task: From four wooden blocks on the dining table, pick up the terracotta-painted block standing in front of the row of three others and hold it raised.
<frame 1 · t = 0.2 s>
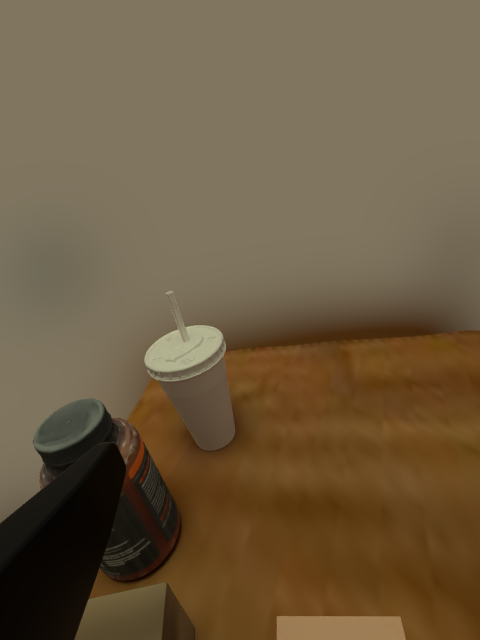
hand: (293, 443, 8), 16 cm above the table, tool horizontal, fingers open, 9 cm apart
smoothie: (216, 435, 32), on the table
supplement bottle: (142, 539, 25), on the table
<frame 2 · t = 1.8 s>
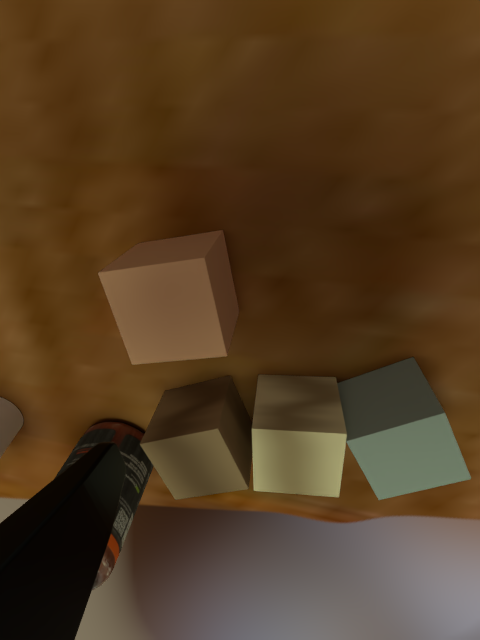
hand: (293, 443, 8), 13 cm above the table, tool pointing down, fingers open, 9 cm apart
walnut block: (210, 409, 26), on the table
smoothie: (2, 412, 28), on the table
slate block: (386, 398, 23), on the table
terracotta block: (190, 278, 21), on the table
supplement bottle: (122, 444, 29), on the table
maple block: (295, 405, 25), on the table
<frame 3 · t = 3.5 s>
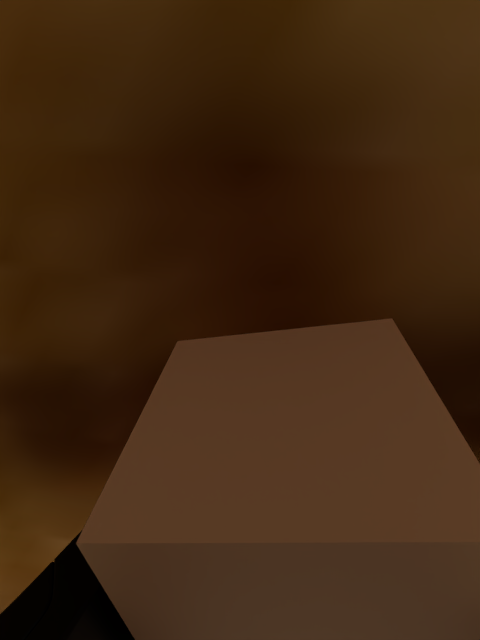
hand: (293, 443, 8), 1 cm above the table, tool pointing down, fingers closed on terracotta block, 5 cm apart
terracotta block: (291, 410, 10), on the table, touching gripper
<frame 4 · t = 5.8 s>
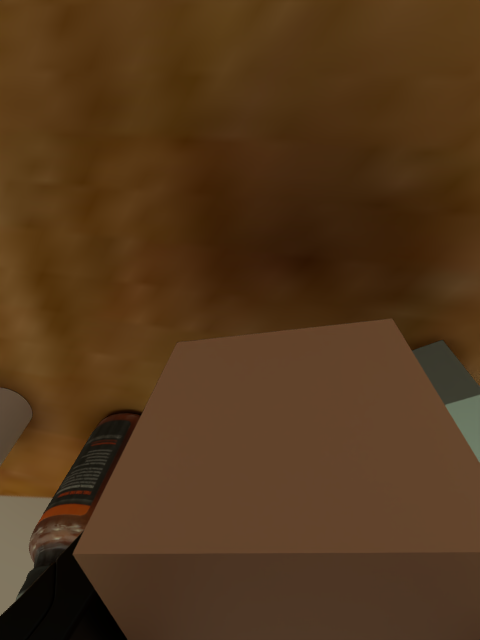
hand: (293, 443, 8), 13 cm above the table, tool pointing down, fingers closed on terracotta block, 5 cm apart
smoothie: (10, 405, 27), on the table
slate block: (411, 384, 23), on the table
terracotta block: (291, 413, 9), point 12 cm above the table, touching gripper
supplement bottle: (136, 436, 28), on the table
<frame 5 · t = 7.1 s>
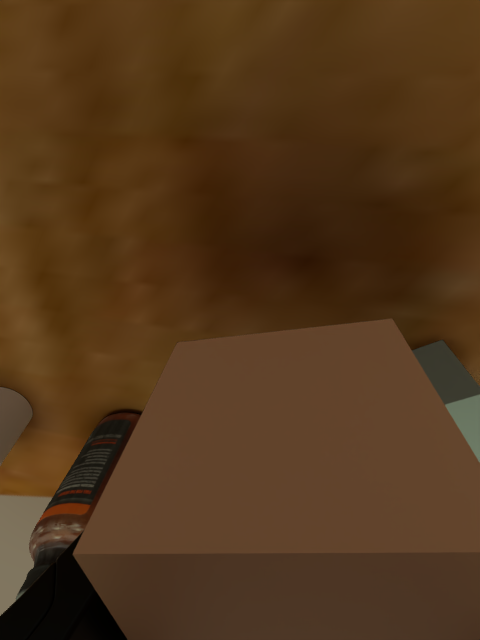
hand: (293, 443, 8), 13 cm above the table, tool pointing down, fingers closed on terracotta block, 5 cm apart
smoothie: (10, 404, 27), on the table
slate block: (411, 384, 23), on the table
terracotta block: (291, 413, 9), point 12 cm above the table, touching gripper
supplement bottle: (136, 436, 28), on the table
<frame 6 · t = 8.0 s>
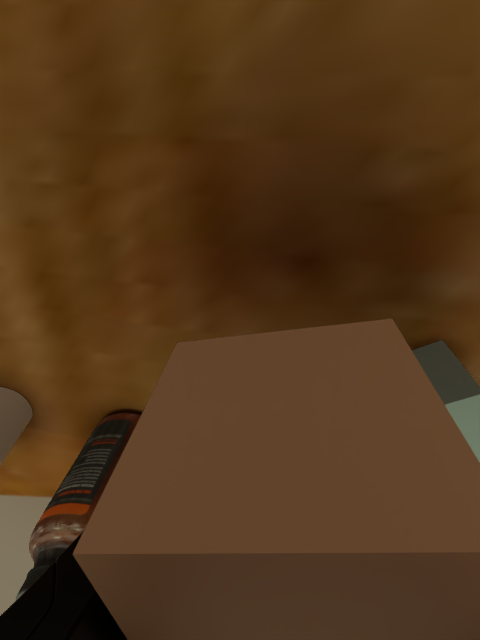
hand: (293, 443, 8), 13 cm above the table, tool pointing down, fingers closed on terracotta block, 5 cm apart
smoothie: (10, 404, 27), on the table
slate block: (411, 384, 23), on the table
terracotta block: (291, 413, 9), point 12 cm above the table, touching gripper
supplement bottle: (136, 436, 28), on the table
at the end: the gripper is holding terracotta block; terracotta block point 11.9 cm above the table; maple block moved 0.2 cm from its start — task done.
